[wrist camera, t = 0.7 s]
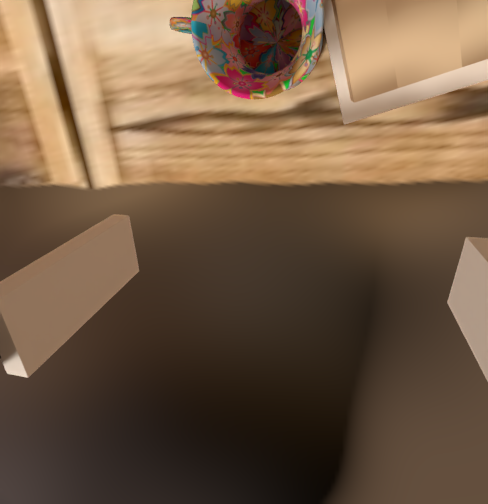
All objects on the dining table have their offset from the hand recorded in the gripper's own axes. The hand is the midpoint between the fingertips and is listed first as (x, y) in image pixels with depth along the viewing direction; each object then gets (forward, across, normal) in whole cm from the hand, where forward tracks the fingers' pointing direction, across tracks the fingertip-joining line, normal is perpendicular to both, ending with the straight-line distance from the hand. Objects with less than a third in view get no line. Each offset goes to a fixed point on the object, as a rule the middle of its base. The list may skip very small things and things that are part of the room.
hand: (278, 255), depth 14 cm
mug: (+26, -5, +10) cm, 28 cm away
